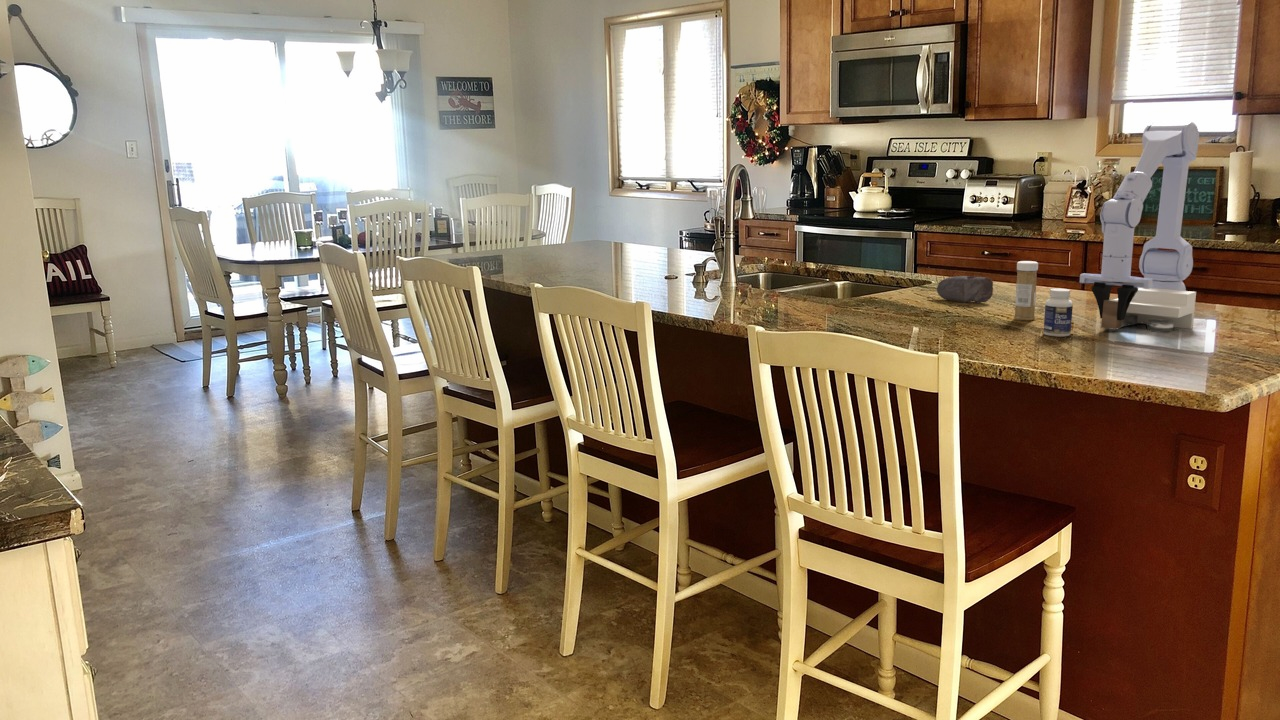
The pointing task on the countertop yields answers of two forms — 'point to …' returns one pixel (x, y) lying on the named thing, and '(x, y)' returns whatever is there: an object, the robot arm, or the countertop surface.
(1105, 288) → the robot arm
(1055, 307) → the pill bottle
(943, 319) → the countertop surface
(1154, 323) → the steel puck
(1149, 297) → the stepped stand
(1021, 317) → the sprinkles bottle
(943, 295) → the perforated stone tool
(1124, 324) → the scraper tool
